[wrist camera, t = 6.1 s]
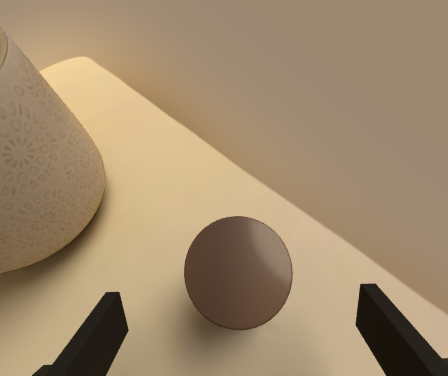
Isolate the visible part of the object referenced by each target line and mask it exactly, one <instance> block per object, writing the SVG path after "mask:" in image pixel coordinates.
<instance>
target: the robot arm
mask: <svg viewBox="0 0 448 376" xmlns="http://www.w3.org/2000/svg"><path fill="white" fill-rule="evenodd" d="M356 327H357V328H358V330H359V332H360V333H361V335H362V337H363V338H364V340H365V341H366V343H367V345H368V346H369V348H370V350H371V351H372V353H373V355H374V356H375V358H376V360H377V361H378V363H379V365H380V366H381V368H382V370H383V371H384V373H385V375H386V376H448V358H445V359H442V358H441V357H440V356H439V355H438V354H437V353H436V351H435V350H434V349H433V348H432V347H431V346H430V345H429V344H428V342H427V341H426V340H425V339H424V338H423V337H422V336H421V335H420V333H419V332H418V331H417V330H416V329H415V328H414V327H413V325H412V324H411V323H410V322H409V321H408V320H407V319H406V318H405V316H404V315H403V314H402V313H401V312H400V311H399V310H398V308H397V307H396V306H395V305H394V304H393V303H392V302H391V301H390V299H389V298H388V297H387V296H386V295H385V294H384V293H383V292H382V290H381V289H380V288H379V287H378V286H377V285H376V284H360V292H359V300H358V309H357V317H356ZM127 332H128V326H127V322H126V318H125V313H124V309H123V305H122V301H121V297H120V293H119V292H106V293H105V294H104V296H103V297H102V298H101V300H100V301H99V302H98V304H97V305H96V307H95V308H94V309H93V311H92V312H91V313H90V315H89V316H88V317H87V319H86V320H85V321H84V323H83V324H82V325H81V327H80V328H79V329H78V331H77V332H76V333H75V335H74V336H73V337H72V339H71V340H70V342H69V343H68V344H67V346H66V347H65V348H64V350H63V351H62V352H61V354H60V355H59V356H58V358H57V359H56V360H55V362H54V363H53V364H52V365H43V366H42V367H41V368H40V369H39V370H38V371H36V372H35V373H34V374H33V375H32V376H106V374H107V372H108V370H109V368H110V366H111V364H112V362H113V360H114V358H115V356H116V354H117V352H118V350H119V348H120V346H121V344H122V342H123V340H124V338H125V336H126V334H127Z"/></svg>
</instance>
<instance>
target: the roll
mask: <svg viewBox="0 0 448 376" xmlns="http://www.w3.org/2000/svg"><path fill="white" fill-rule="evenodd" d="M292 273H293V272H292V264H291V259H290V256H289V253H288V250H287V248H286V246H285V244H284V243H283V241H282V240H281V238H280V237H279V236H278V235H277V234H276V233H275V232H274V231H273V230H272V229H271V228H270V227H268V226H267V225H266V224H264V223H262V222H260V221H258V220H255V219H252V218H248V217H242V216H233V217H227V218H222V219H220V220H217V221H215V222H213V223H211V224H210V225H208V226H207V227H205V228H204V229H203V230H202V231H201V232H200V233H199V234H198V235H197V236H196V238H195V239H194V241H193V242H192V244H191V246H190V248H189V250H188V253H187V256H186V260H185V267H184V278H185V284H186V288H187V292H188V294H189V297H190V299H191V301H192V302H193V304H194V306H195V307H196V308H197V310H198V311H199V312H200V313H201V314H202V315H203V316H204V317H205V318H206V319H208V320H209V321H210V322H212V323H214V324H216V325H218V326H221V327H223V328H227V329H231V330H247V329H252V328H256V327H258V326H260V325H263V324H264V323H266V322H268V321H269V320H271V319H272V318H273V317H274V316H275V315H276V314H277V313H278V312H279V311H280V310H281V308H282V307H283V305H284V304H285V302H286V300H287V298H288V296H289V293H290V289H291V285H292Z"/></svg>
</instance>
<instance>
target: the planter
mask: <svg viewBox="0 0 448 376" xmlns="http://www.w3.org/2000/svg"><path fill="white" fill-rule="evenodd" d="M104 188H105V168H104V163H103V160H102V157H101V154H100V152H99V150H98V148H97V147H96V145H95V143H94V142H93V140H92V139H91V137H90V135H89V134H88V132H87V131H86V130H85V128H84V127H83V126H82V124H81V123H80V122H79V121H78V119H77V118H76V117H75V115H74V114H73V113H72V112H71V110H70V109H69V108H68V107H67V105H66V104H65V103H64V102H63V101H62V99H61V98H60V97H59V96H58V95H57V93H56V92H55V91H54V90H53V89H52V87H51V86H50V85H49V84H48V82H47V81H46V80H45V79H44V77H43V76H42V75H41V74H40V73H39V71H38V70H37V69H36V68H35V67H34V65H33V64H32V63H31V62H30V60H29V59H28V58H27V57H26V56H25V54H24V53H23V52H22V51H21V50H20V49H19V47H18V46H17V45H16V44H15V43H14V42H13V40H12V39H11V38H10V37H9V36H8V35H7V34H6V32H5V31H4V30H3V29H2V28H1V27H0V273H1V272H6V271H11V270H16V269H19V268H23V267H26V266H29V265H31V264H34V263H36V262H39V261H41V260H43V259H45V258H47V257H49V256H51V255H52V254H54V253H56V252H57V251H59V250H60V249H62V248H63V247H64V246H66V245H67V244H68V243H70V242H71V241H72V240H73V239H74V238H75V237H76V236H77V235H78V234H79V233H80V232H81V231H82V230H83V229H84V228H85V227H86V226H87V224H88V223H89V222H90V220H91V219H92V217H93V216H94V214H95V212H96V211H97V209H98V207H99V204H100V202H101V199H102V196H103V193H104Z"/></svg>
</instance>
